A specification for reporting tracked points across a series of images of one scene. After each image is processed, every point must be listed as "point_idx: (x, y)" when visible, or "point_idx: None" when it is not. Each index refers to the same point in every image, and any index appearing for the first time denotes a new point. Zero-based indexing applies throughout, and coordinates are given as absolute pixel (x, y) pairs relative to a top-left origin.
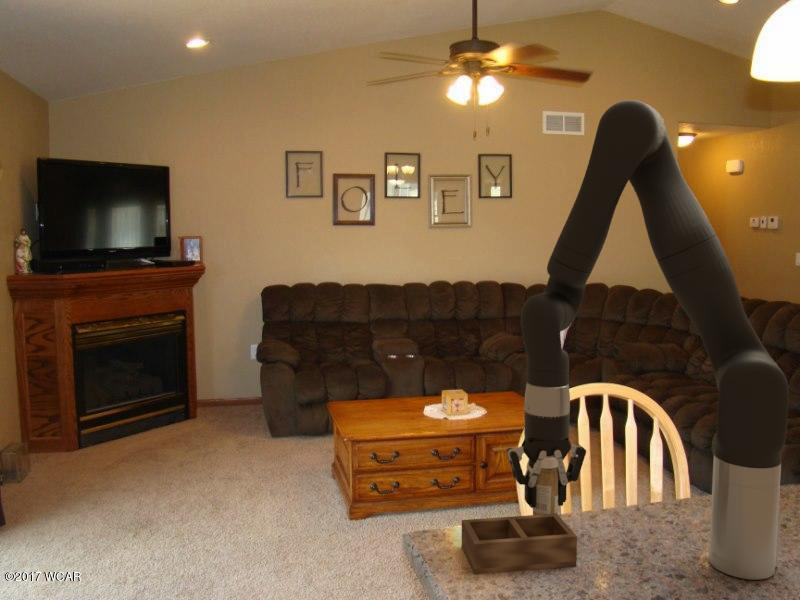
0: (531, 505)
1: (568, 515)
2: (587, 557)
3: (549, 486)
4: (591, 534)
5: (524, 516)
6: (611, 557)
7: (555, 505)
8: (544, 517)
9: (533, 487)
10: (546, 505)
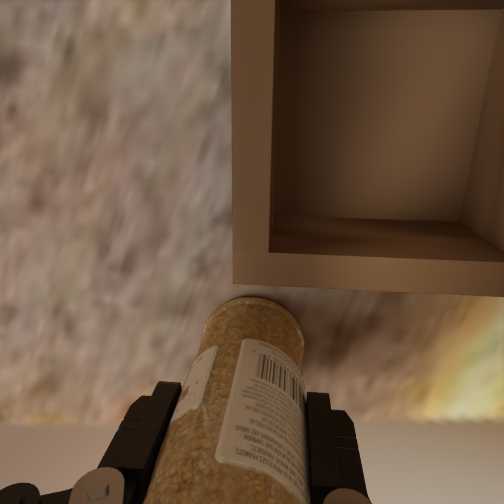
0: (328, 401)
1: None
2: (171, 64)
3: (227, 461)
4: (91, 260)
5: (439, 283)
6: (67, 46)
7: (205, 370)
8: (322, 254)
9: (326, 491)
10: (258, 372)
